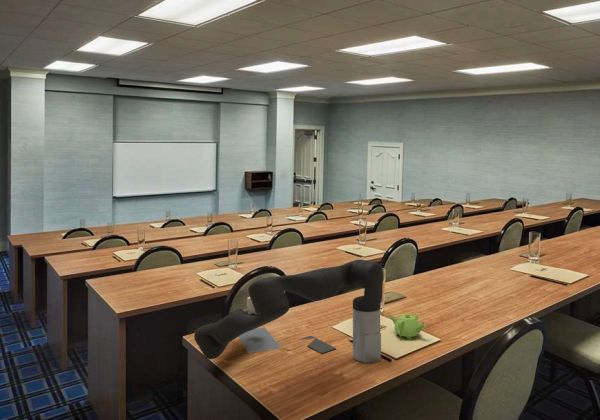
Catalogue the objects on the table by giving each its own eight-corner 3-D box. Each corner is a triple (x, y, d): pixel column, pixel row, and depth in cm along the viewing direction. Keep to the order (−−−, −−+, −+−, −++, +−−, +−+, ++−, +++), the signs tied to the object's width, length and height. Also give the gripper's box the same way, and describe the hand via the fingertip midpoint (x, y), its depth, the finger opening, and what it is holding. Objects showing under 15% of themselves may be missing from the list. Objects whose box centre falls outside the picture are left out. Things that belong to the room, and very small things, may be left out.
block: (258, 299, 172) (259, 326, 173) (265, 296, 177) (265, 322, 178) (246, 298, 174) (247, 324, 175) (253, 294, 179) (253, 320, 180)
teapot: (395, 341, 174) (395, 319, 173) (389, 330, 185) (389, 309, 185) (426, 341, 174) (426, 318, 173) (417, 329, 186) (417, 308, 185)
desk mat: (281, 349, 169) (281, 347, 169) (248, 354, 165) (248, 353, 165) (264, 328, 189) (264, 327, 189) (235, 333, 185) (235, 331, 185)
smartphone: (321, 353, 164) (296, 339, 176) (321, 355, 164) (296, 342, 176) (337, 348, 168) (311, 335, 180) (337, 350, 168) (311, 337, 180)
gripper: (218, 332, 166) (242, 317, 181) (254, 338, 160) (276, 322, 176) (217, 311, 165) (241, 298, 180) (254, 316, 159) (276, 302, 175)
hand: (258, 310), depth 178 cm, fingers closed on block, 5 cm apart
